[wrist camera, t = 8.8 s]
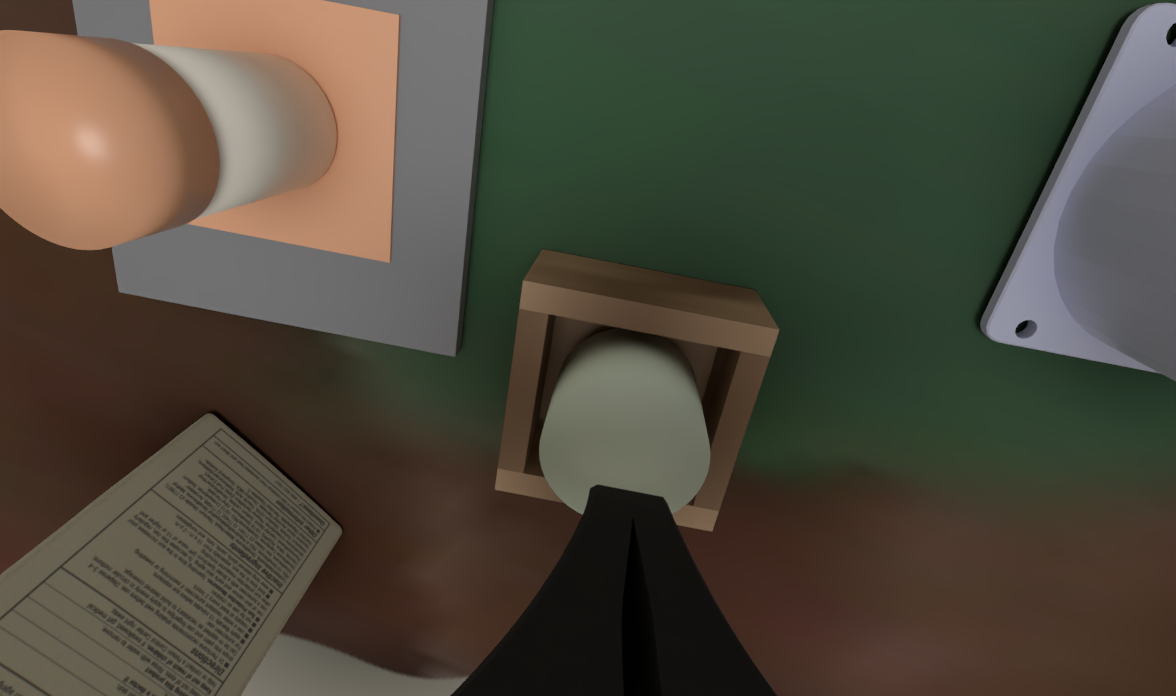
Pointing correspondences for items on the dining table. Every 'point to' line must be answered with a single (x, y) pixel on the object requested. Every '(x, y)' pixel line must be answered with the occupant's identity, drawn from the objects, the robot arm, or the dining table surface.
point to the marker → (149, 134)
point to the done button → (625, 421)
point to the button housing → (645, 304)
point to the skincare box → (165, 577)
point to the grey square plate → (335, 168)
